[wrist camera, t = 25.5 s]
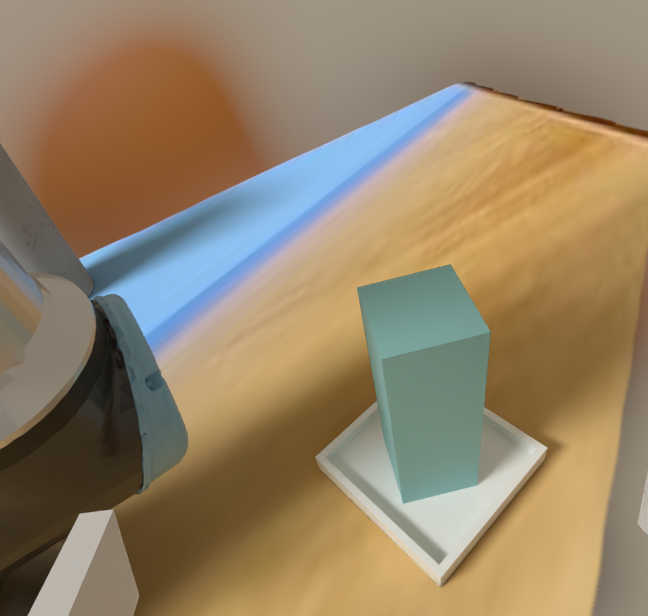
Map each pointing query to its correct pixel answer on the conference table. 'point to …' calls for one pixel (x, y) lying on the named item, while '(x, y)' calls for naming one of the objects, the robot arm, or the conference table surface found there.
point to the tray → (438, 511)
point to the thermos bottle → (34, 231)
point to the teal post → (428, 378)
